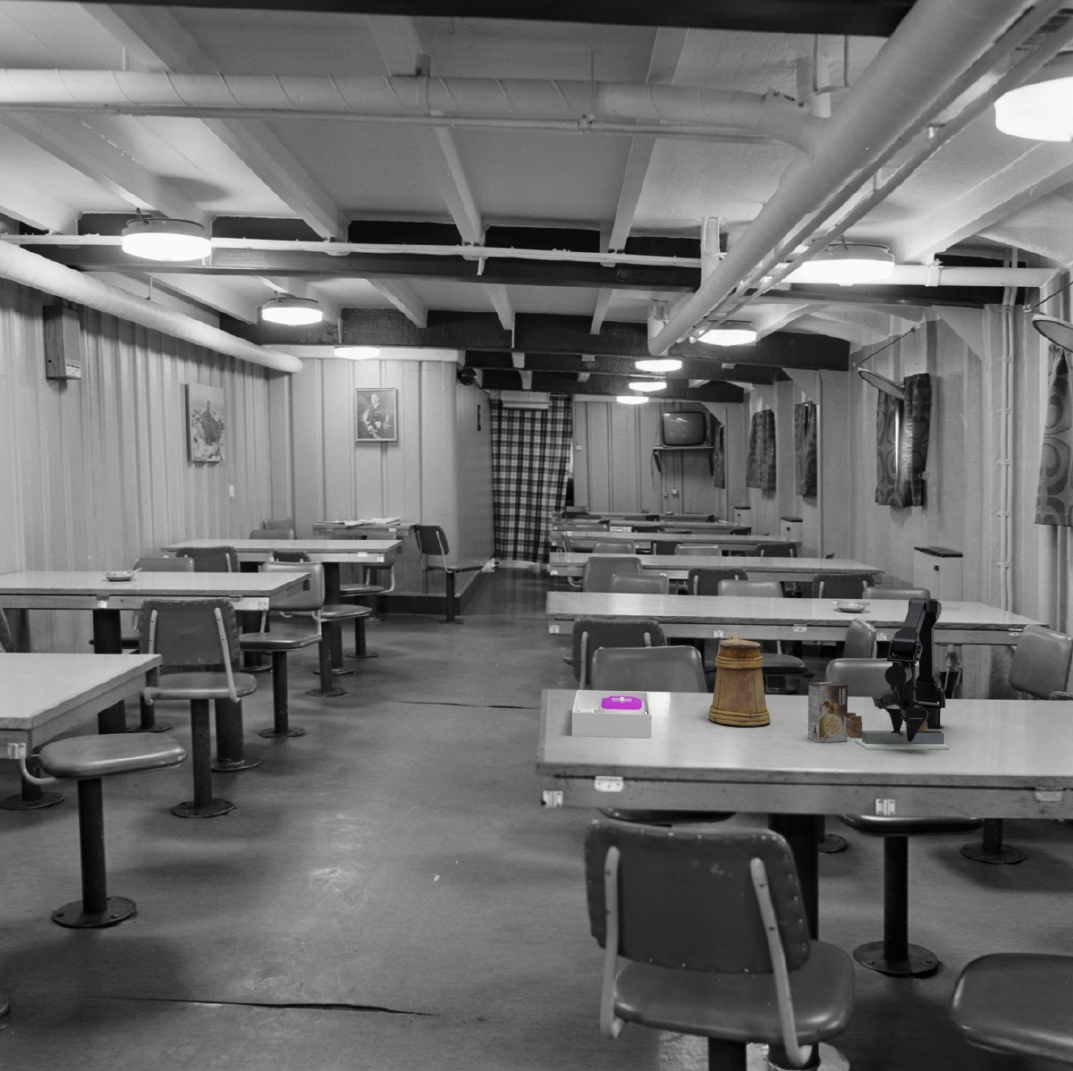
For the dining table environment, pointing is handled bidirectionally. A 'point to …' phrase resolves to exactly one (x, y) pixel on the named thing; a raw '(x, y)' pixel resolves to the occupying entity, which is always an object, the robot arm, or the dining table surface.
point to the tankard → (739, 685)
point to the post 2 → (923, 726)
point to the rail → (902, 737)
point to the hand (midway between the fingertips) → (903, 737)
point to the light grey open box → (612, 714)
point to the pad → (901, 746)
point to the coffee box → (827, 711)
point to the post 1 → (854, 725)
